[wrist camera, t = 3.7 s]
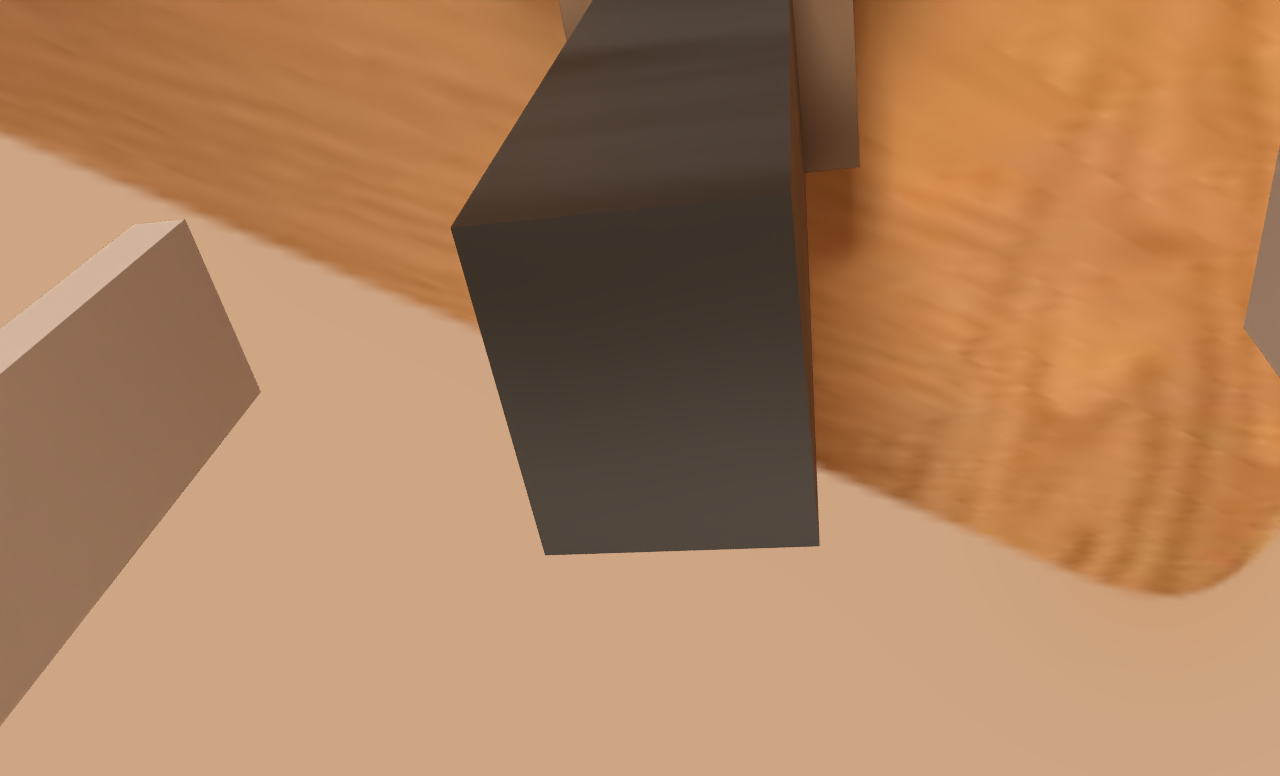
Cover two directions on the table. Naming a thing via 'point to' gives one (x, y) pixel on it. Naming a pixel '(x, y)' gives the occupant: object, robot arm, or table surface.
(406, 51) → the table surface
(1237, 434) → the table surface
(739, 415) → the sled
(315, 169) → the table surface
